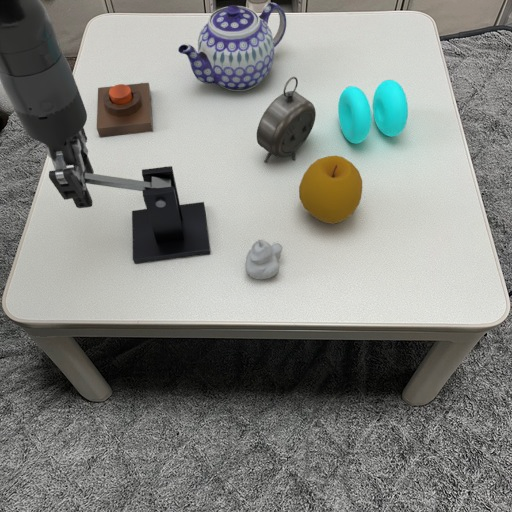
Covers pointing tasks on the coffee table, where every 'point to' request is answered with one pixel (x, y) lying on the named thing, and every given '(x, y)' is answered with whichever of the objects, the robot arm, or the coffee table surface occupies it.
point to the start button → (120, 94)
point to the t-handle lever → (124, 181)
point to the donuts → (384, 110)
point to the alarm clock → (286, 124)
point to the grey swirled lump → (263, 259)
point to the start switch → (124, 112)
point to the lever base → (167, 223)
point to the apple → (331, 189)
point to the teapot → (235, 47)
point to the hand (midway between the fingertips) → (85, 190)
